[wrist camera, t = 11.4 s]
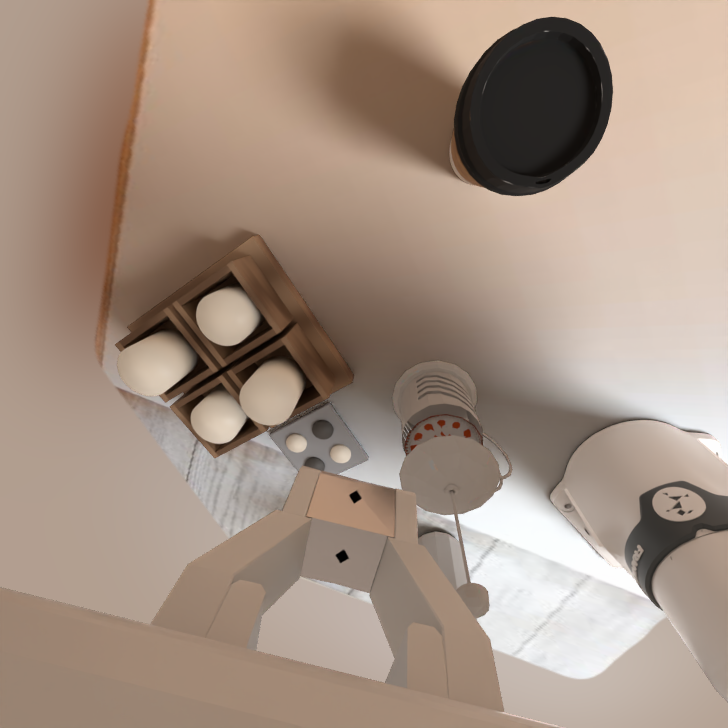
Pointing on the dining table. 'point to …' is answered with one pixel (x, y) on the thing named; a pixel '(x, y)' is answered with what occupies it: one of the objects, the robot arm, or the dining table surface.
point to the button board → (239, 362)
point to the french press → (446, 451)
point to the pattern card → (320, 442)
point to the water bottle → (446, 556)
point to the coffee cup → (532, 108)
